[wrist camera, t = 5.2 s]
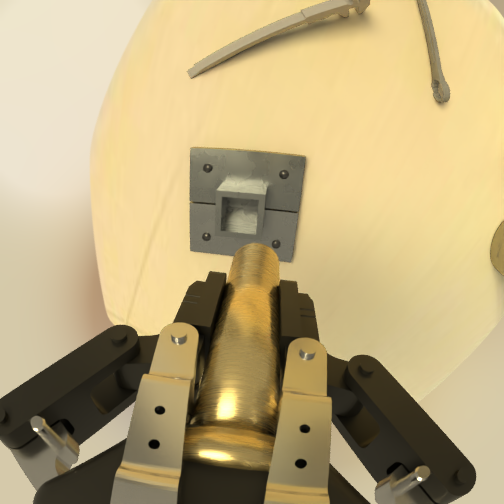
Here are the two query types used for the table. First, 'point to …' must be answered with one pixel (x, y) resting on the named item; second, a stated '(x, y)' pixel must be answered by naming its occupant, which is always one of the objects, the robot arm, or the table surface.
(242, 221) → the square socket plate
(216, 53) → the caliper
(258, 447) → the pin
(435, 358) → the table surface
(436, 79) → the combination wrench
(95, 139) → the table surface
